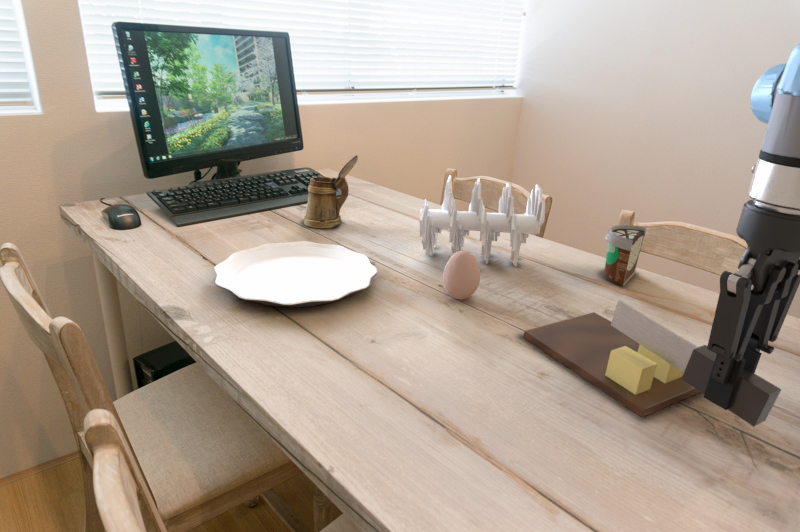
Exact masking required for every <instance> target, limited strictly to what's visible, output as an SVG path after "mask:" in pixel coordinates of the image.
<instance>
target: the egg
mask: <svg viewBox="0 0 800 532" xmlns="http://www.w3.org/2000/svg"><path fill="white" fill-rule="evenodd" d="M442 282H443V286H444V289H445V291H446V292H447V293H448V295H450V297H452V298H454V299H456V300H466V299H468V298H470V297H471V296H473V295H474V294H475V293H476V291H477V290H478V288H479V286H480V282H481V268H480V265H479V262H478V260H477V258H476V257H475V255H474V254H472V253H471V252H469V251H467V250H461V251H459V252H457V253H453V254H452V255H451V257H449V258H448V261H447V262H446V264H445V266H444V270H443V275H442Z"/></svg>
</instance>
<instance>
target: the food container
mask: <svg viewBox="0 0 800 532" xmlns="http://www.w3.org/2000/svg"><path fill="white" fill-rule="evenodd" d="M646 232H647V227H645V226H642V225H641V226H640V225H634V224H633V225H631V224H618V225H613V226H611V227H610V229H609V230H608V231H607V234H606V236H605V241H606V242H607V248H606V256H605V262H604V263H605V264H604V271H603V277H604V278H605V279H606V280H607V281H608V282H610V283H612V284H615V285H618V286H621V287H624V286H625V285H626V284H627V283H628V281H630V279H631V278H632V277H633V276H634V274H636V269H637V266H638V261H639V258H640V253H641V250H642V246H643V243H644V238H645V236H646Z"/></svg>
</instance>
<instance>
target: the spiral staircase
mask: <svg viewBox="0 0 800 532" xmlns="http://www.w3.org/2000/svg"><path fill="white" fill-rule="evenodd" d="M476 178H477V180H476V181H474V188H472V191H471V202H469V206H468V211H466V210H458V209H457V210H456V202H455V198H454V194H453V180H452V175H448V178H447V179H446V183H445V187H444V193H443V194H444V195H443V202H442V204H441V208H440V209H429V206H428V199H426V198H424V201H423V203H422V208H421V209H420V213H419V237H420V238H421V244H422V249H423V250H425V255H430V256H431V257H432V256H433V255H434V251H435V248H436V247H438V239H439V234H442V231H443V230H449V237H448V238H449V243H451V254H455V253H457V252H459V251H462V248H464V247H465V237H466V236H467V237H468V236H470V232H471V231H472V232H474V231H475V232H479V242H481V253H480V254H481V256H483V261H485V264H486V265H487V264H489V259H490V257H491V253H492V242H498V237H501V233H507V234H509V247H511V253H510V260H512V261H511V263H512V265H514V267H518V260H519V255H520V250H521V246H522V244H527V239H529V237H530V235H540V233H541V227H542V226H543V225H544V223H545V219H546V218H545V216H546V200H545V201H544V200H543V186H539V183H536V184H535V187H534V188H532V189H531V192H530V196H528V197H527V203H526V209H525V212H523V213H515V208H514V204H515V203H514V202H515V195H512V183H511V182H505V186H503V187H502V195H501V196H499V203H498V212H489V211H485V210H486V209H485V208H486V205H485V204H483V203H484V200H483V199H484V198H483V197H481V195H482V181H481V177H476Z"/></svg>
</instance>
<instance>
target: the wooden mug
mask: <svg viewBox="0 0 800 532" xmlns="http://www.w3.org/2000/svg"><path fill="white" fill-rule="evenodd" d="M358 159H359V156H358V155H357V154H356V155H355V156H353V157H352V158H350V160H349V161H347V162H346V164H345V165H344V166H343V167H342V169H341V170H340V171H339V173H338V174H337V176H333V177H329V176H313V177H311V178H310V179H309V180H310V181H309V184H308V187H307V192H308V194H307V202H306V209H305V215H304V219H303V224H304V225H305V226H307V227H309V228H314V229H332V228H336V227H338V226H340V224H341V223H342V216H341V214H340V213H341V208H342V207H343V205H344V204H345V203H346V200H347V199H348V196H349V193H350V191H349V184H348V181H347V180H346V176H347V175H349V173H350V172H351V170H352V169H353V168H354V166H355V165H356V164H357V163H358V161H359V160H358ZM339 190H340V191H341V194H340V196H339V197H337V193H338V192H339Z"/></svg>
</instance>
